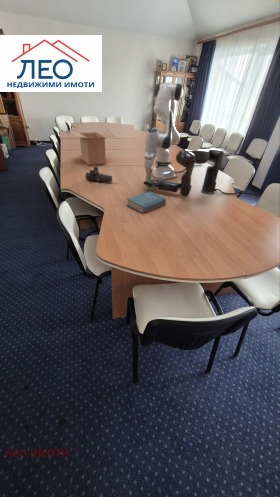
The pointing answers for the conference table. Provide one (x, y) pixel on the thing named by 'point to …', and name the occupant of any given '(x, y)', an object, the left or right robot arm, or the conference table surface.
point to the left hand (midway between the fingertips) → (149, 172)
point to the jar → (148, 179)
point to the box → (92, 146)
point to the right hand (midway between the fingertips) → (145, 181)
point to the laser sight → (98, 176)
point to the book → (146, 201)
